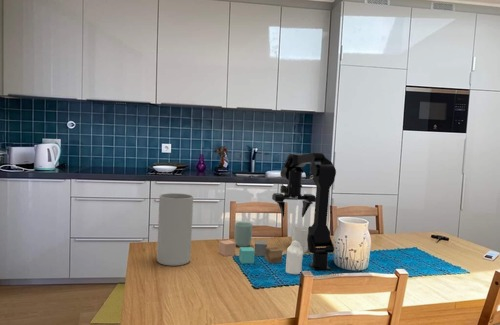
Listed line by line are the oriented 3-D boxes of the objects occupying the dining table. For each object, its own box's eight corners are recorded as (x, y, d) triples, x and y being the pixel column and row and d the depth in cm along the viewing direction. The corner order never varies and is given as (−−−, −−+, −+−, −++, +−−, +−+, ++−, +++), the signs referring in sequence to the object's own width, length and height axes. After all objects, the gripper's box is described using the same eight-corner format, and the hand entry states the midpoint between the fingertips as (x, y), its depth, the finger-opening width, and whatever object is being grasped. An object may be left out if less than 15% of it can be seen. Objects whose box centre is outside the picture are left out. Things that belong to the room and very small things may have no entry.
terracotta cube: (235, 255, 163) (235, 243, 163) (224, 256, 161) (225, 244, 160) (229, 251, 168) (229, 240, 167) (218, 253, 165) (219, 241, 164)
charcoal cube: (266, 256, 164) (266, 244, 163) (254, 255, 164) (254, 243, 164) (266, 252, 169) (266, 241, 168) (254, 252, 169) (255, 240, 169)
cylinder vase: (183, 268, 144) (186, 200, 142) (151, 264, 146) (153, 197, 145) (194, 258, 156) (197, 195, 154) (165, 254, 159) (167, 192, 157)
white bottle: (300, 237, 149) (306, 242, 144) (298, 269, 150) (304, 274, 145) (285, 238, 148) (290, 242, 142) (283, 269, 148) (288, 274, 143)
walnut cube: (281, 262, 157) (282, 250, 157) (270, 263, 155) (271, 250, 155) (275, 258, 162) (276, 246, 161) (264, 259, 160) (265, 247, 159)
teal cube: (254, 263, 154) (254, 250, 154) (241, 263, 153) (242, 251, 152) (251, 259, 159) (251, 247, 158) (238, 259, 158) (239, 247, 157)
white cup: (309, 253, 171) (311, 230, 170) (291, 252, 171) (292, 229, 170) (307, 248, 178) (309, 226, 178) (290, 247, 179) (291, 225, 178)
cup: (252, 244, 180) (253, 222, 180) (250, 249, 173) (251, 226, 172) (235, 242, 181) (236, 221, 180) (232, 247, 173) (233, 225, 173)
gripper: (308, 180, 186) (306, 213, 187) (269, 179, 182) (268, 213, 183) (317, 183, 175) (315, 218, 176) (276, 182, 171) (274, 218, 172)
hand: (292, 216), depth 177 cm, fingers open, 9 cm apart
